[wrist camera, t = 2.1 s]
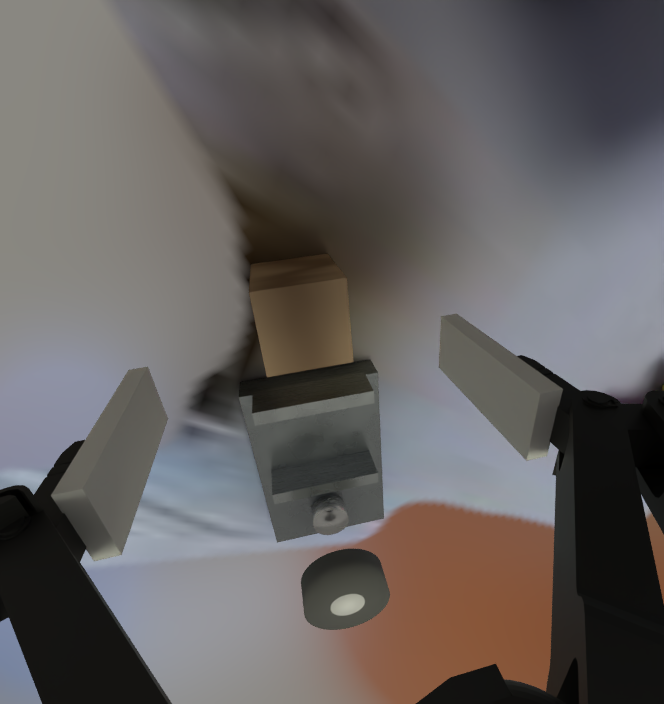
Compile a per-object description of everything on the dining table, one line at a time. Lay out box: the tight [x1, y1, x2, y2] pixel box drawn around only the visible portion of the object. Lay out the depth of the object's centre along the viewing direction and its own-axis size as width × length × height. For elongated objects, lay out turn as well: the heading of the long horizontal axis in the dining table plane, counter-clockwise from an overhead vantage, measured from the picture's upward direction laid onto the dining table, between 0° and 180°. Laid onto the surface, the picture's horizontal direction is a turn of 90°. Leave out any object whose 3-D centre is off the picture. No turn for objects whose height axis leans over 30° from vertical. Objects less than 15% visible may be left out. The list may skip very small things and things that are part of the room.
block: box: [249, 254, 353, 377], centre depth 22 cm, size 5×5×6 cm
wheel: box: [301, 549, 390, 630], centre depth 26 cm, size 6×6×4 cm
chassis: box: [239, 360, 384, 542], centre depth 29 cm, size 10×16×4 cm, turn 6°
